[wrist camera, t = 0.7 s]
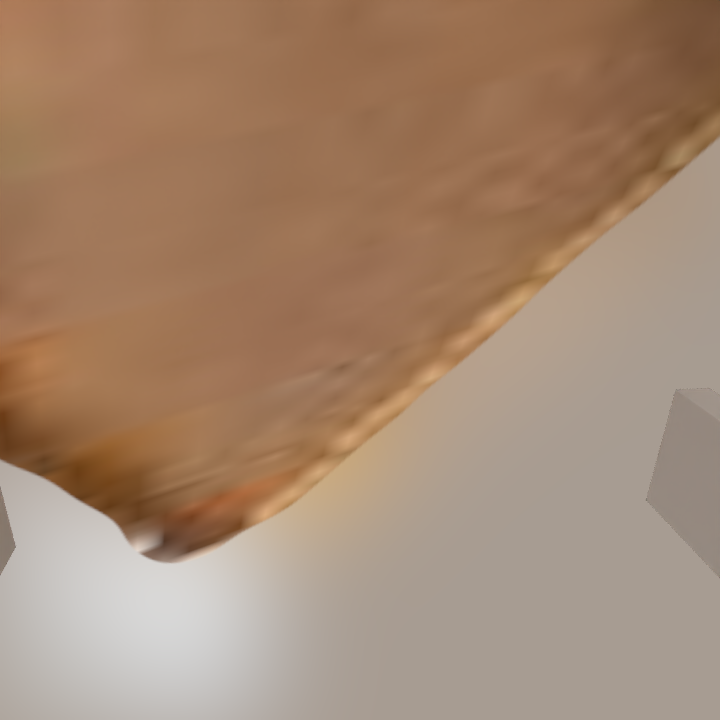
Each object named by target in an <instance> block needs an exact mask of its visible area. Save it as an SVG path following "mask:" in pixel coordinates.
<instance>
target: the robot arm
mask: <svg viewBox="0 0 720 720" xmlns="http://www.w3.org/2000/svg"><path fill="white" fill-rule="evenodd" d="M646 501H647V502H648V503H649V504H650V505H651V506H652V507H653V508H654V509H655V510H656V511H657V512H658V513H659V514H660V515H661V516H662V518H663V519H664V520H665V521H666V522H667V523H668V524H669V525H670V526H671V527H672V528H673V529H674V530H675V531H676V532H677V533H678V534H679V535H680V537H681V538H682V539H683V540H684V541H685V542H686V543H687V544H688V545H689V546H690V547H691V548H692V549H693V550H694V551H695V552H696V553H697V554H698V556H699V557H700V558H701V559H702V560H703V561H704V562H705V563H706V564H707V565H708V566H709V567H710V568H711V569H712V570H713V571H714V572H715V573H716V575H717V576H718V577H719V578H720V395H719V394H717V393H716V392H715V391H713V390H712V389H710V388H703V389H702V388H701V389H679V390H675V394H674V398H673V401H672V405H671V409H670V413H669V416H668V420H667V424H666V427H665V431H664V435H663V439H662V442H661V446H660V450H659V454H658V458H657V461H656V465H655V469H654V472H653V476H652V480H651V484H650V487H649V491H648V495H647V498H646ZM15 547H16V546H15V542H14V539H13V534H12V530H11V527H10V523H9V519H8V515H7V511H6V507H5V503H4V499H3V496H2V492H1V488H0V575H1V573H2V571H3V569H4V567H5V565H6V564H7V562H8V560H9V558H10V556H11V554H12V553H13V551H14V549H15Z"/></svg>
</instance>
